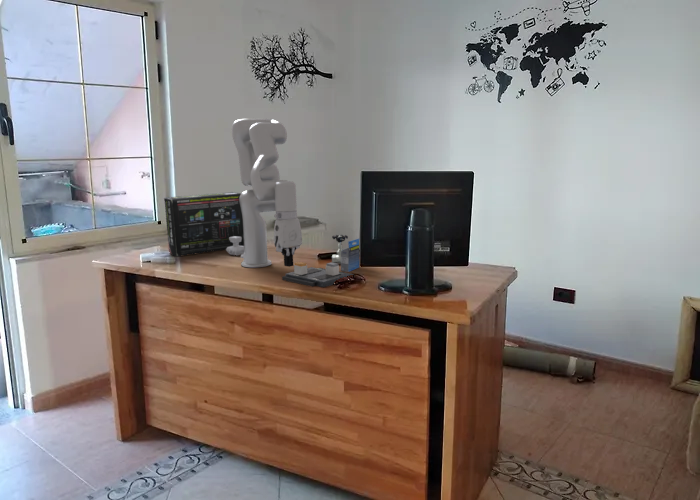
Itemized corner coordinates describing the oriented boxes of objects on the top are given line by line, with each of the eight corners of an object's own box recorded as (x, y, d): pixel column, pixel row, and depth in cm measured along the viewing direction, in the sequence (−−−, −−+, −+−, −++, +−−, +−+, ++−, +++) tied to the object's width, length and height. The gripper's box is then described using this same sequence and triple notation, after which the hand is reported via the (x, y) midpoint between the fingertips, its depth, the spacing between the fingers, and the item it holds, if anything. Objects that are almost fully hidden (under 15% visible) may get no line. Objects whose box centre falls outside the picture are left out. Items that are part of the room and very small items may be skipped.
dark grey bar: (282, 279, 210) (282, 276, 210) (284, 279, 211) (284, 275, 211) (312, 286, 200) (312, 283, 199) (315, 285, 201) (314, 282, 200)
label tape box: (351, 266, 230) (351, 237, 228) (360, 267, 228) (360, 238, 226) (340, 271, 223) (339, 240, 220) (349, 272, 220) (348, 241, 218)
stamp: (234, 257, 252) (233, 238, 250) (224, 255, 256) (223, 237, 254) (248, 253, 259) (247, 236, 258) (238, 252, 263) (237, 234, 261)
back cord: (317, 271, 223) (317, 268, 222) (320, 270, 224) (320, 267, 223) (351, 278, 211) (351, 275, 211) (354, 277, 212) (354, 274, 212)
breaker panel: (285, 278, 211) (285, 273, 211) (311, 272, 221) (311, 266, 221) (323, 287, 198) (323, 281, 198) (349, 279, 208) (349, 274, 208)
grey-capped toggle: (325, 274, 209) (325, 263, 208) (331, 272, 211) (331, 262, 210) (333, 275, 206) (333, 265, 205) (339, 274, 208) (339, 263, 207)
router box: (236, 244, 284) (233, 191, 279) (246, 247, 275) (243, 193, 270) (166, 253, 263) (162, 196, 258) (175, 257, 254) (170, 198, 249)
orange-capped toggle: (294, 273, 210) (293, 263, 209) (300, 272, 212) (299, 261, 212) (301, 275, 208) (301, 264, 207) (307, 273, 210) (307, 263, 209)
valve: (346, 266, 232) (346, 237, 229) (331, 265, 233) (330, 237, 231) (349, 262, 238) (349, 234, 236) (334, 262, 239) (334, 234, 237)
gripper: (277, 218, 193) (280, 270, 196) (308, 214, 204) (310, 263, 207) (263, 217, 198) (266, 268, 201) (294, 213, 209) (296, 261, 212)
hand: (288, 265), depth 204 cm, fingers closed
